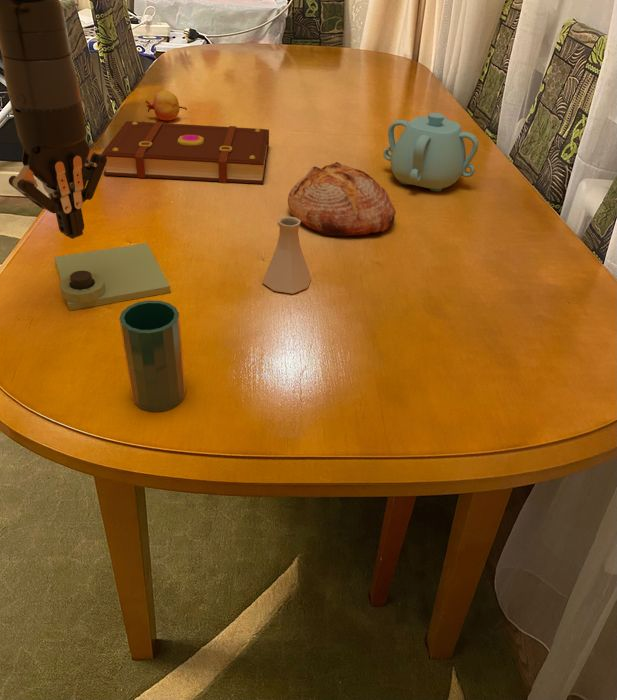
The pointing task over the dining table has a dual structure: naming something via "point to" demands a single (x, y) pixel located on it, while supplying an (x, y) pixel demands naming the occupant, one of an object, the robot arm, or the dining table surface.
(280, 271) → the flask
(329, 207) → the bread
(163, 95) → the fruit
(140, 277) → the scale
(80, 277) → the tare button
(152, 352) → the cup
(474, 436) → the dining table surface
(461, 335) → the dining table surface
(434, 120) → the decorative pot
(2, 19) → the robot arm
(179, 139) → the book
